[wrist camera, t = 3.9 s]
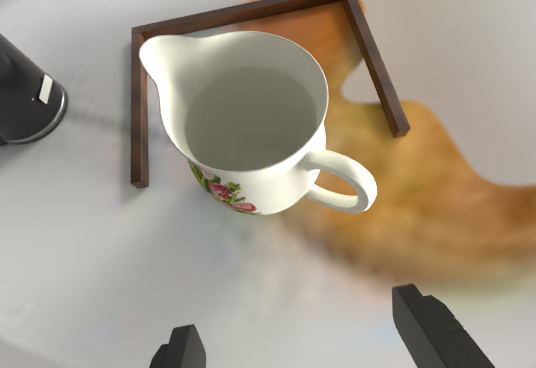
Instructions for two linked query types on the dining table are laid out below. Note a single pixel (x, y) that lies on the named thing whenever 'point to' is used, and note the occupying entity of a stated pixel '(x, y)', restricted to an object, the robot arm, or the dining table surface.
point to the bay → (269, 4)
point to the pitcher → (251, 120)
